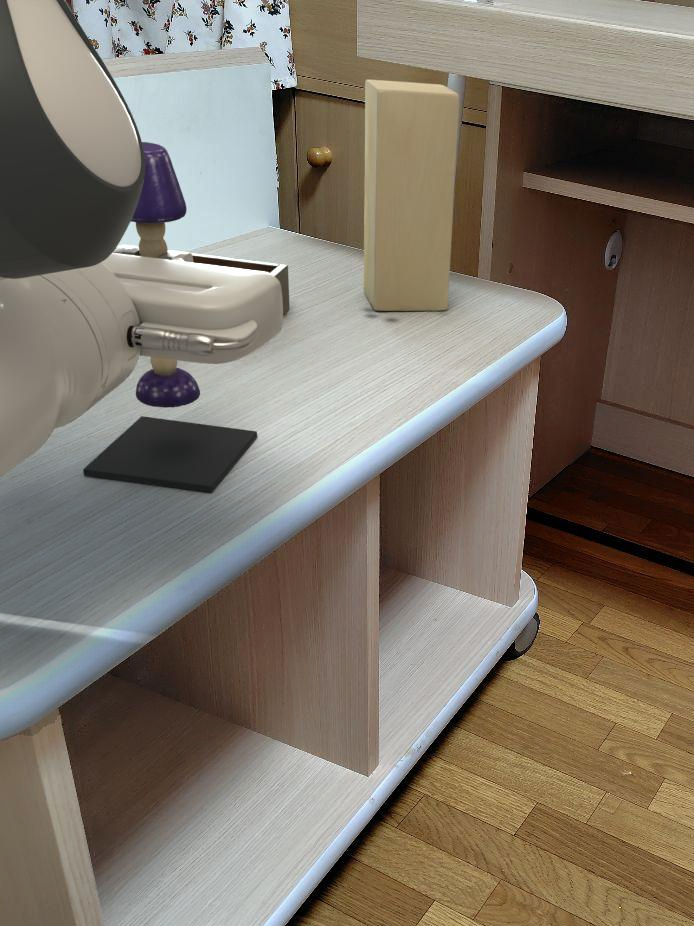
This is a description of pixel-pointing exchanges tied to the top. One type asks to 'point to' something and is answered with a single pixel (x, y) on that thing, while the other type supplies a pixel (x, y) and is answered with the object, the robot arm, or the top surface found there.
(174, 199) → the toy lamp
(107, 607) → the top surface
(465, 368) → the top surface
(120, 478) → the pad
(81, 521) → the top surface
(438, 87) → the tall wooden block
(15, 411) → the robot arm
